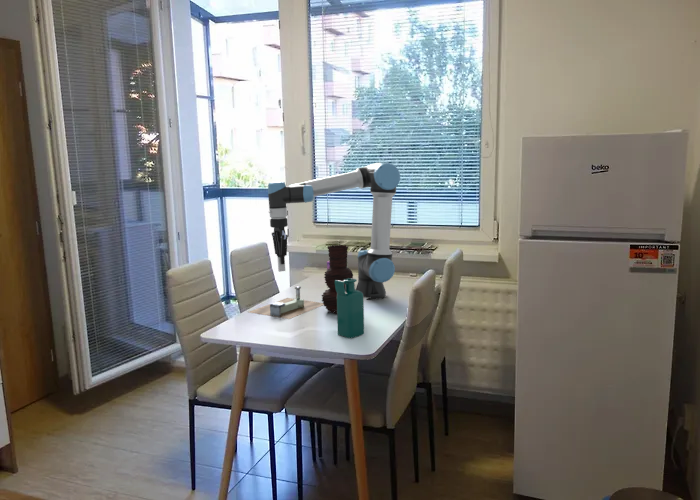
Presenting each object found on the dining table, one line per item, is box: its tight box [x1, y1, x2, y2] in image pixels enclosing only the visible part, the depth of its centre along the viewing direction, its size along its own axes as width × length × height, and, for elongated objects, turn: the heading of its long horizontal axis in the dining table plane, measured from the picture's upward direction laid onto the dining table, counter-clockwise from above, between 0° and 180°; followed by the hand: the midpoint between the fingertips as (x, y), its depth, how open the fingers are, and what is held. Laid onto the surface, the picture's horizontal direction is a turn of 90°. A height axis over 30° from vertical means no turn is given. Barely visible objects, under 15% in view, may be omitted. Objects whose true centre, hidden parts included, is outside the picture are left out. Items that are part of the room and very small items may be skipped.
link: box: [281, 298, 305, 313], centre depth 246 cm, size 17×5×3 cm, turn 142°
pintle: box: [294, 285, 302, 300], centre depth 250 cm, size 3×3×6 cm
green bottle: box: [335, 277, 365, 339], centre depth 213 cm, size 10×8×22 cm
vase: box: [321, 244, 354, 315], centre depth 241 cm, size 15×15×30 cm
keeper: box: [270, 301, 285, 318], centre depth 238 cm, size 5×4×5 cm
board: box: [248, 297, 324, 320], centre depth 250 cm, size 23×28×2 cm
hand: (281, 270), depth 246 cm, fingers closed
